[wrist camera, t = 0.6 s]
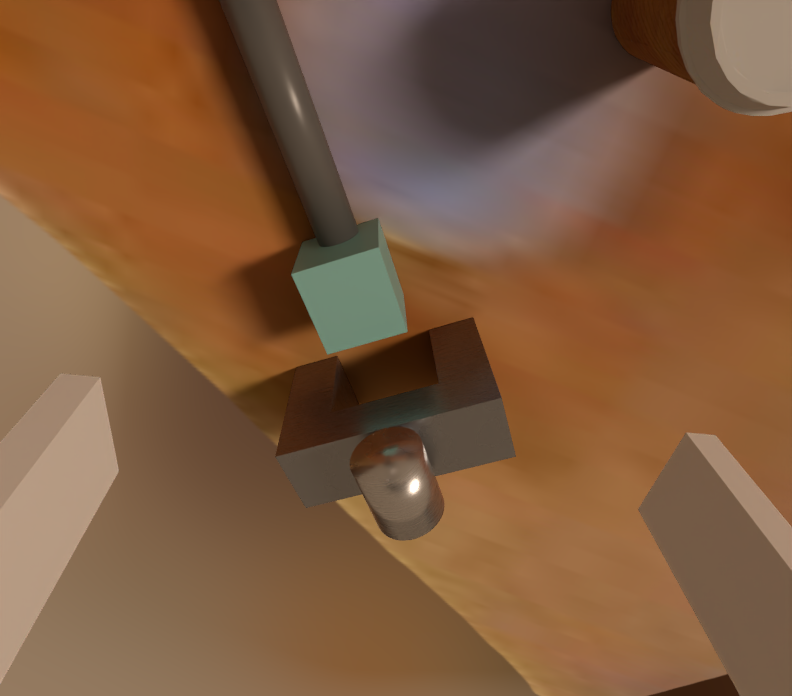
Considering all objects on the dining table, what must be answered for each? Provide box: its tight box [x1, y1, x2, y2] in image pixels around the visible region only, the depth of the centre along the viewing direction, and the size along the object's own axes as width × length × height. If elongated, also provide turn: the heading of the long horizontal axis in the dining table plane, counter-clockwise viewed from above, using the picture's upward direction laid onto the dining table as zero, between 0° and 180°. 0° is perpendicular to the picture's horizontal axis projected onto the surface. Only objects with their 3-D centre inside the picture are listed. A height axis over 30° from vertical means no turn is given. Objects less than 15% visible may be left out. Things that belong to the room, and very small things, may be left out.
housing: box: [275, 318, 516, 540], centre depth 34 cm, size 5×14×14 cm, turn 107°
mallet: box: [219, 0, 408, 354], centre depth 29 cm, size 22×6×6 cm, turn 17°
